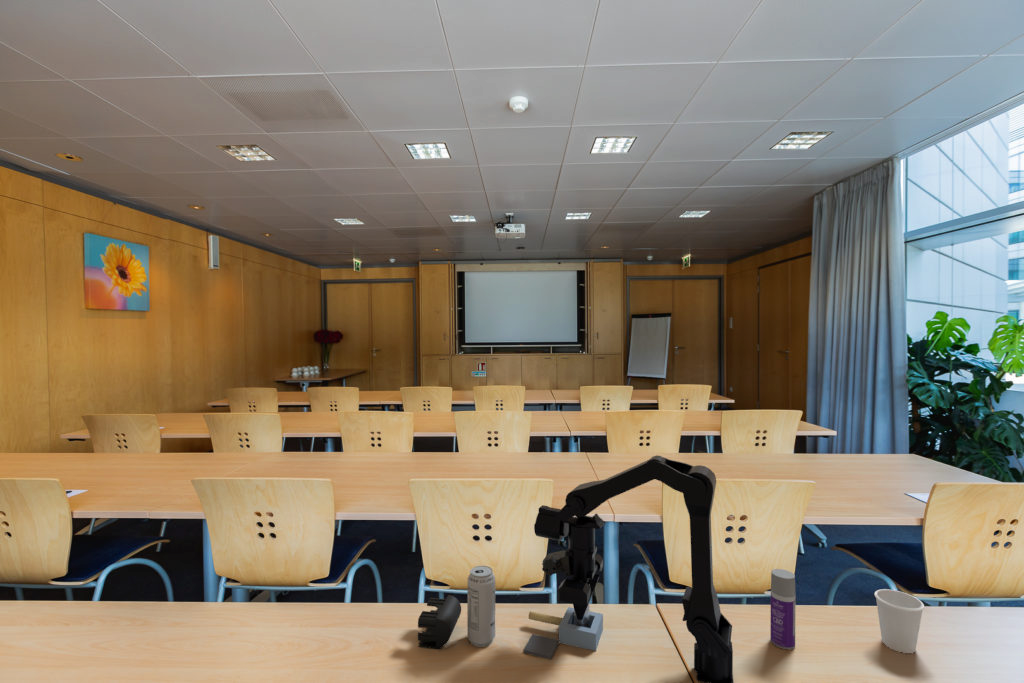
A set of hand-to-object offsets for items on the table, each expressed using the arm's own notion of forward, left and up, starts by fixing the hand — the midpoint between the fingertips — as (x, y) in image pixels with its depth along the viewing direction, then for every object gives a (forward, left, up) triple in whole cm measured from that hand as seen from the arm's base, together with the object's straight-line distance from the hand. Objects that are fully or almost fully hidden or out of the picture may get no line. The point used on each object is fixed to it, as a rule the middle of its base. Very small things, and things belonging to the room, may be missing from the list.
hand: (581, 614), depth 108 cm
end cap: (+29, +11, -5) cm, 31 cm away
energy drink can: (+20, +9, -5) cm, 23 cm away
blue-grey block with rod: (+4, 0, -5) cm, 6 cm away
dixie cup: (-64, -21, -5) cm, 67 cm away
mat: (+7, +7, -5) cm, 11 cm away
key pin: (0, 0, -3) cm, 3 cm away
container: (-41, -13, -5) cm, 43 cm away
